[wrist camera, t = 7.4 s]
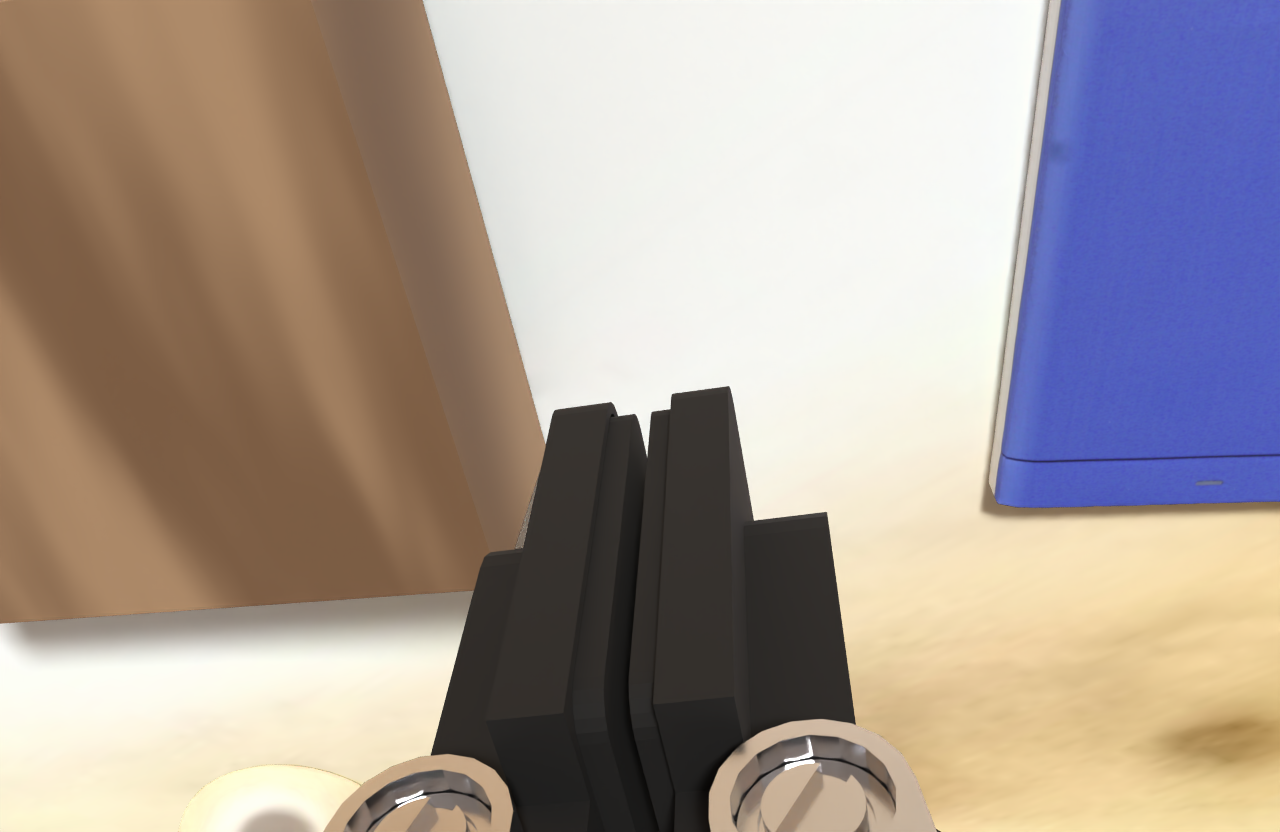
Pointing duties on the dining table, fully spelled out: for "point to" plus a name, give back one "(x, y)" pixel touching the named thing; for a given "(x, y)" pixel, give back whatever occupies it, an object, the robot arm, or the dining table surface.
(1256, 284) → the hard drive
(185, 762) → the dining table surface
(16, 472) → the slab
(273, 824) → the beer glass
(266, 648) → the dining table surface
